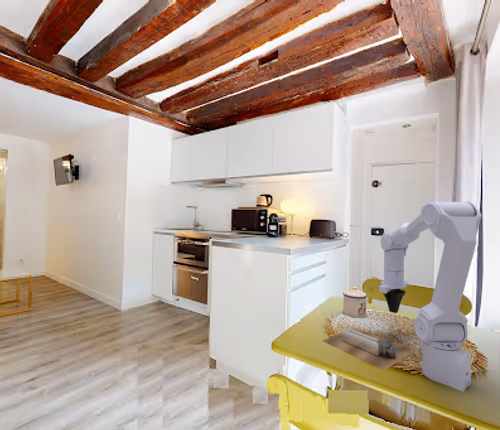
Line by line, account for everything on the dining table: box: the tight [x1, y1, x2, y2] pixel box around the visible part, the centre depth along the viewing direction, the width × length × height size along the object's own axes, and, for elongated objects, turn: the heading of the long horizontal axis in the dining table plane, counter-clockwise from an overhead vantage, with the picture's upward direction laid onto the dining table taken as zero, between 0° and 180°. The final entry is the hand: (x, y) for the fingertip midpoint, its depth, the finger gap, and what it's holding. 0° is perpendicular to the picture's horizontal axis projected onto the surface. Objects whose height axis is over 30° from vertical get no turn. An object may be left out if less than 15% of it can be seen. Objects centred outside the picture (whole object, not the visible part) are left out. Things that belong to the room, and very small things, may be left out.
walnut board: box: [321, 327, 417, 371], centre depth 82 cm, size 20×18×1 cm
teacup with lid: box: [342, 285, 368, 319], centre depth 111 cm, size 12×9×12 cm
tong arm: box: [344, 327, 396, 359], centre depth 80 cm, size 15×3×3 cm, turn 36°
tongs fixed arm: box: [340, 328, 394, 356], centre depth 80 cm, size 14×3×4 cm, turn 36°
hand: (393, 312), depth 87 cm, fingers closed
